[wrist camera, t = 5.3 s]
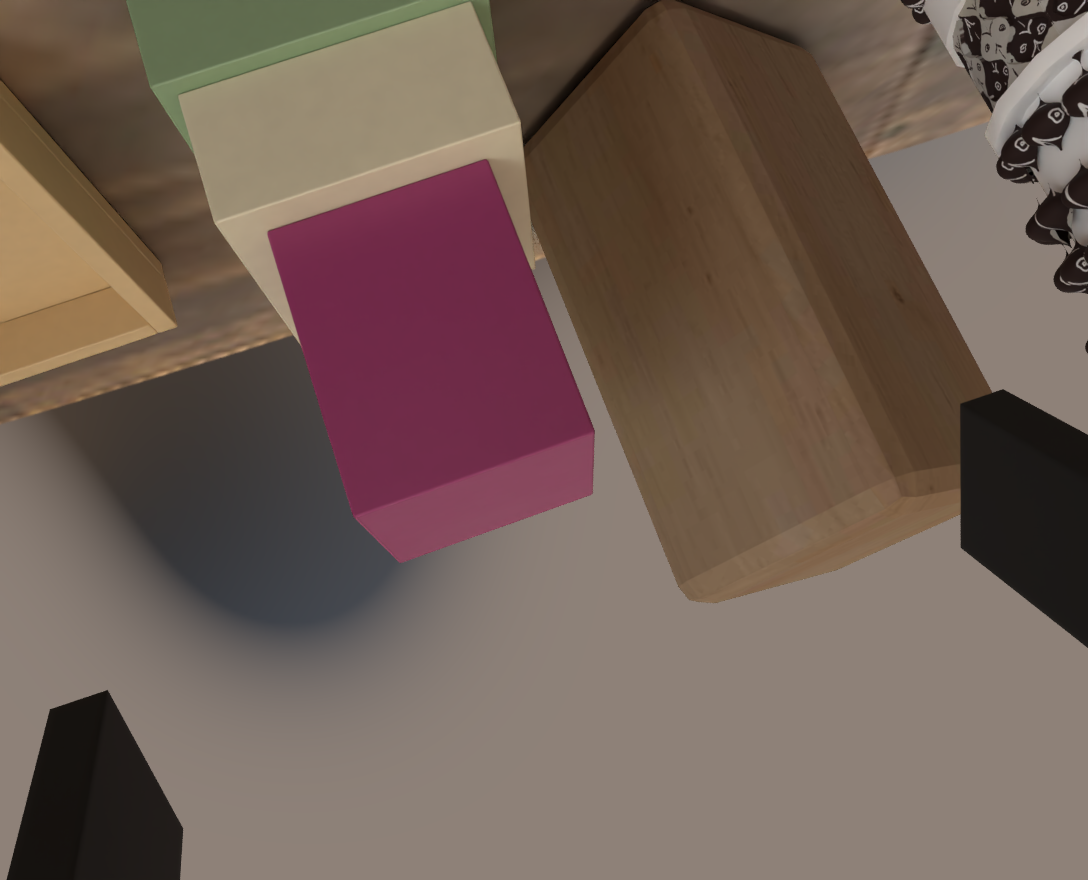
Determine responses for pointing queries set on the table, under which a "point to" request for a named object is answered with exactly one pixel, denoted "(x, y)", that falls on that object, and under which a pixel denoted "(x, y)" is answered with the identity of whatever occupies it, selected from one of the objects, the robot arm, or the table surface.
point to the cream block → (353, 132)
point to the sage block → (256, 36)
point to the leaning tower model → (1030, 105)
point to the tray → (65, 259)
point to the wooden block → (748, 306)
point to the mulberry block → (435, 362)
